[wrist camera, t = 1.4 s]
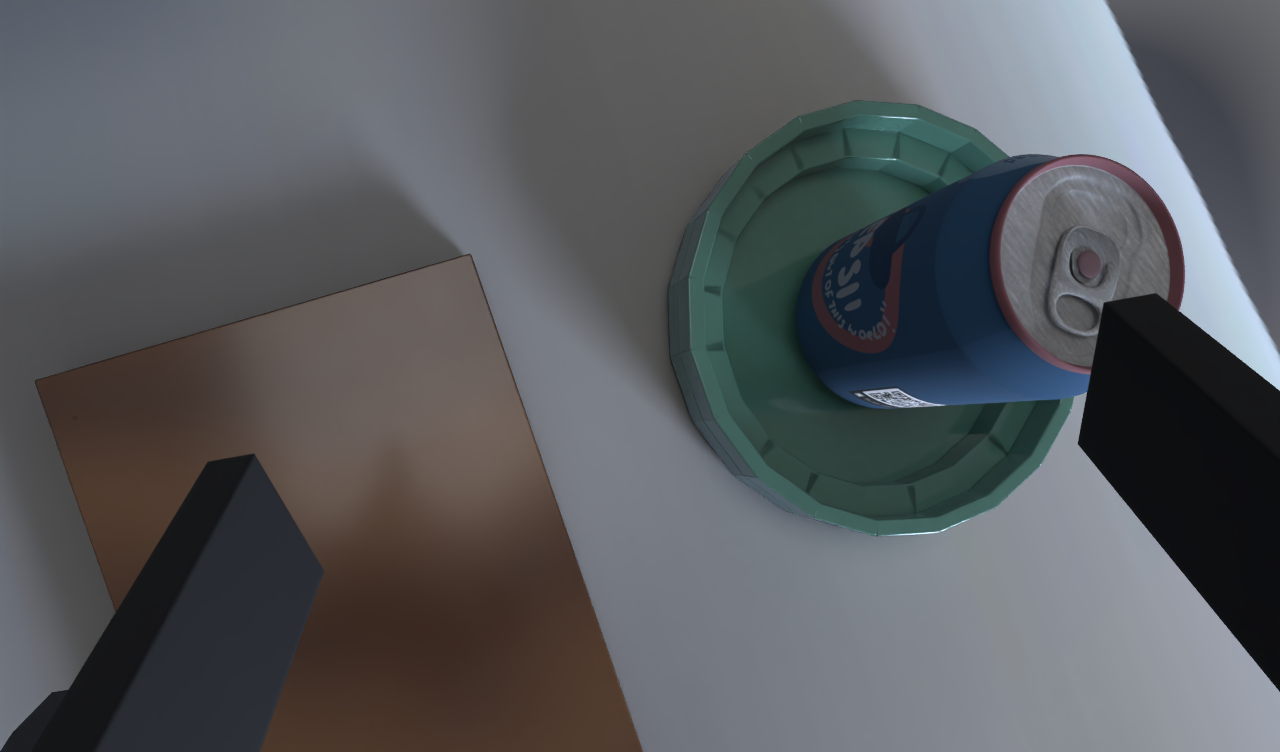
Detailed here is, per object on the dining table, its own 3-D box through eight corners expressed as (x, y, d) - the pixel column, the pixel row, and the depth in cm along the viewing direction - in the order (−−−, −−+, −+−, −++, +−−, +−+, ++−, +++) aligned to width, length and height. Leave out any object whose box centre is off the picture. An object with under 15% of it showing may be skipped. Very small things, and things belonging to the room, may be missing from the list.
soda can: (808, 215, 32) (1011, 89, 20) (955, 272, 33) (1227, 186, 21) (762, 379, 31) (947, 348, 19) (916, 431, 32) (1177, 431, 20)
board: (52, 382, 26) (33, 380, 24) (470, 259, 29) (470, 252, 28) (255, 960, 26) (245, 985, 25) (647, 773, 29) (655, 788, 28)
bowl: (610, 189, 30) (625, 163, 27) (958, 90, 34) (1005, 58, 31) (746, 587, 30) (777, 604, 27) (1078, 445, 34) (1136, 446, 31)
